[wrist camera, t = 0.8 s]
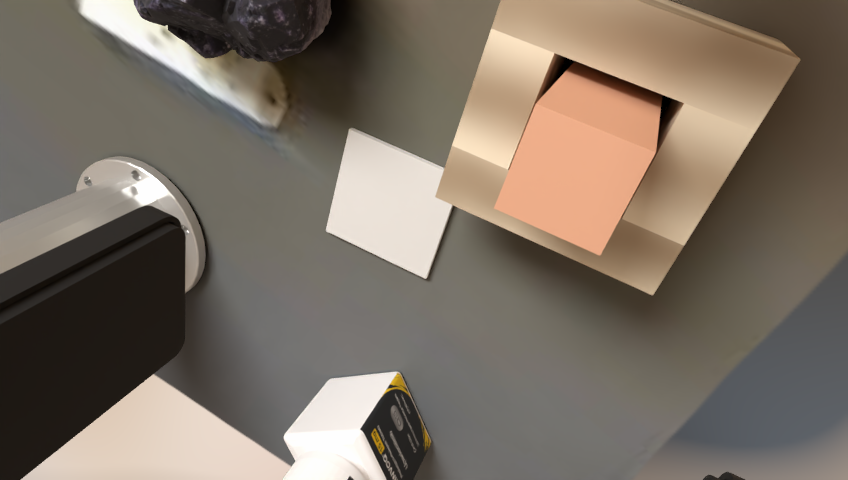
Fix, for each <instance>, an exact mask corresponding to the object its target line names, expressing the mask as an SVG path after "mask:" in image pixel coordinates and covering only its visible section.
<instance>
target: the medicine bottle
mask: <svg viewBox="0 0 848 480" xmlns="http://www.w3.org/2000/svg"><path fill="white" fill-rule="evenodd" d="M284 440H285V442H286V444H287V446H288V448H289V450H290V452H291V453H292V455H293V457H294V459H295V461H296V462H295V463H294V464H293V466H292V467H291V468H290V470H289V471H288V472H287V474H286V475H285V476H284V478H283V479H282V480H413V478H414V476H415V474H416V472H417V470H418V468H419V466H420V464H421V462H422V460H423V458H424V456H425V454H426V452H427V450H428V449H429V447H430V445H431V439H430V437H429V435H428V432H427V430H426V428H425V426H424V423H423V421H422V419H421V417H420V415H419V412H418V410H417V408H416V406H415V403H414V401H413V399H412V397H411V395H410V392H409V390H408V388H407V386H406V383H405V381H404V379H403V377H402V375H401V373H400V372H397V371H396V372H387V373H378V374H369V375H359V376H350V377H341V378H332V379H330V380H328V381H327V383H326V384H325V385H324V386H323V388H322V389H321V390H320V391H319V392H318V394H317V395H316V396H315V397H314V399H313V400H312V401H311V402H310V404H309V405H308V406H307V407H306V408H305V410H304V411H303V412H302V413H301V415H300V416H299V417H298V418H297V420H296V421H295V422H294V423H293V425H292V426H291V427H290V428H289V429H288V431H287V432H286V433H285V435H284Z"/></svg>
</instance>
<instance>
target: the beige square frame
mask: <svg viewBox="0 0 848 480" xmlns="http://www.w3.org/2000/svg"><path fill="white" fill-rule="evenodd" d="M565 58H569V59H571V60H574V61H576V62H579V63H582V64H584V65H587V66H589V67H592V68H595V69H597V70H600V71H602V72H605V73H607V74H610V75H613V76H615V77H618V78H620V79H623V80H626V81H628V82H631V83H633V84H636V85H638V86H641V87H644V88H646V89H649V90H651V91H654V92H657V93H659V94H662V95H664V96H667V97H669V98H672V100H671V102H670V104H669V106H668V108H667V109H666V111H665V113H664V115H663V117H662V119H661V121H660V123H659V130H658V139H657V148H656V153H655V155H654V157H653V159H652V161H651V163H650V164H649V166H648V168H647V170H646V172H645V174H644V176H643V177H642V179H641V181H640V183H639V185H638V187H637V189H636V190H635V192H634V194H633V196H632V198H631V200H630V201H629V203H628V205H627V207H626V209H625V211H624V213H623V214H622V216H621V218H620V220H619V222H618V224H617V225H616V227H615V229H614V231H613V233H612V235H611V237H610V238H609V240H608V242H607V244H606V246H605V248H604V250H603V251H602V253H601V255H600V256H599V255H597V254H595V253H593V252H590V251H588V250H586V249H584V248H581V247H579V246H577V245H575V244H573V243H570V242H568V241H566V240H564V239H561V238H559V237H557V236H555V235H552V234H550V233H548V232H546V231H543V230H541V229H539V228H537V227H534V226H532V225H530V224H528V223H526V222H523V221H521V220H519V219H517V218H514V217H512V216H510V215H508V214H505V213H503V212H501V211H499V210H496V209H494V206H495V204H496V201H497V199H498V196H499V194H500V192H501V189H502V187H503V184H504V182H505V179H506V177H507V174H508V172H509V169H510V167H511V164H512V162H513V159H514V157H515V154H516V152H517V149H518V147H519V144H520V142H521V139H522V137H523V134H524V132H525V129H526V127H527V124H528V122H529V119H530V117H531V114H532V112H533V109H534V107H535V104H536V103H537V102H538V101H539V100H540V99H541V97H542V96H543V95H544V94H545V93H546V92H547V91H548V90H549V89H550V88H551V87H552V85H553V84H554V83H555V82H556V80H557V78H558V75H559V73H560V70H561V68H562V66H563V63H564V61H565ZM800 60H801V59H800V58H799V57H797V56H796V55H795V54H794V53H793V52H792V51H791V50H790V49H789V48H788V47H786V46H785V45H784V44H783V43H782V42H781V41H780V40H779V39H776V38H773V37H770V36H768V35H765V34H762V33H759V32H756V31H754V30H751V29H748V28H745V27H742V26H740V25H737V24H734V23H731V22H728V21H726V20H723V19H720V18H717V17H714V16H712V15H709V14H706V13H703V12H700V11H698V10H695V9H692V8H689V7H686V6H683V5H681V4H678V3H675V2H672V1H669V0H501V1H500V4H499V7H498V10H497V13H496V16H495V19H494V22H493V25H492V28H491V31H490V34H489V37H488V40H487V43H486V46H485V49H484V52H483V55H482V58H481V61H480V64H479V67H478V70H477V73H476V76H475V79H474V82H473V85H472V88H471V91H470V94H469V97H468V100H467V103H466V106H465V109H464V112H463V115H462V118H461V121H460V124H459V127H458V130H457V133H456V136H455V139H454V142H453V145H452V148H451V151H450V153H449V156H448V159H447V162H446V165H445V168H444V171H443V174H442V177H441V180H440V183H439V186H438V189H437V192H436V195H435V197H436V198H438V199H440V200H443V201H445V202H447V203H449V204H451V205H454V206H456V207H458V208H460V209H462V210H465V211H467V212H469V213H471V214H474V215H476V216H478V217H480V218H482V219H485V220H487V221H489V222H491V223H493V224H496V225H498V226H500V227H502V228H504V229H507V230H509V231H511V232H513V233H516V234H518V235H520V236H522V237H524V238H527V239H529V240H531V241H533V242H535V243H538V244H540V245H542V246H544V247H547V248H549V249H551V250H553V251H555V252H558V253H560V254H562V255H564V256H566V257H569V258H571V259H573V260H575V261H577V262H580V263H582V264H584V265H586V266H589V267H591V268H593V269H595V270H597V271H600V272H602V273H604V274H606V275H608V276H611V277H613V278H615V279H617V280H620V281H622V282H624V283H626V284H628V285H631V286H633V287H635V288H637V289H639V290H642V291H644V292H646V293H648V294H650V295H653V294H654V293H655V291H656V290H657V288H658V286H659V285H660V283H661V282H662V280H663V279H664V277H665V275H666V274H667V272H668V271H669V269H670V267H671V266H672V264H673V263H674V261H675V259H676V258H677V256H678V255H679V253H680V251H681V250H682V248H683V247H684V245H685V243H686V242H687V240H688V239H689V237H690V235H691V234H692V232H693V231H694V229H695V227H696V226H697V224H698V223H699V221H700V220H701V218H702V216H703V215H704V213H705V212H706V210H707V208H708V207H709V205H710V204H711V202H712V200H713V199H714V197H715V196H716V194H717V192H718V191H719V189H720V188H721V186H722V184H723V183H724V181H725V180H726V178H727V176H728V175H729V173H730V172H731V170H732V168H733V167H734V165H735V164H736V162H737V160H738V159H739V157H740V156H741V154H742V153H743V151H744V149H745V148H746V146H747V145H748V143H749V141H750V140H751V138H752V137H753V135H754V133H755V132H756V130H757V129H758V127H759V125H760V124H761V122H762V121H763V119H764V117H765V116H766V114H767V113H768V111H769V109H770V108H771V106H772V105H773V103H774V101H775V100H776V98H777V97H778V95H779V94H780V92H781V90H782V89H783V87H784V86H785V84H786V82H787V81H788V79H789V78H790V76H791V74H792V73H793V71H794V70H795V68H796V66H797V65H798V63H799V62H800Z"/></svg>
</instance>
